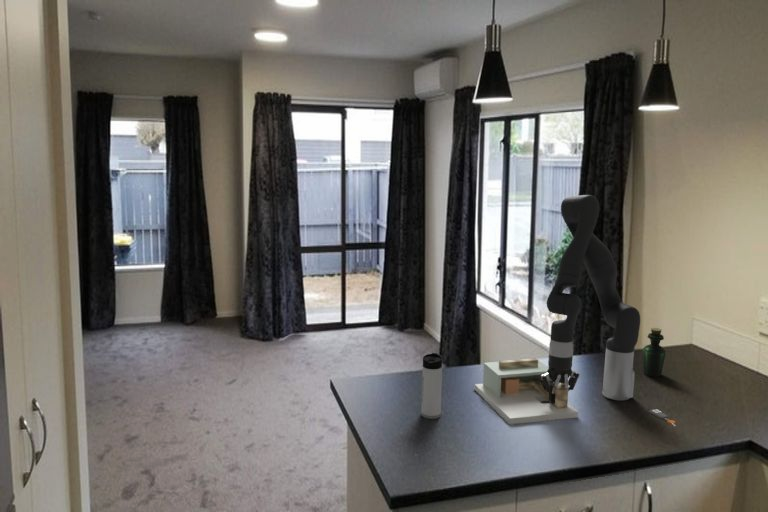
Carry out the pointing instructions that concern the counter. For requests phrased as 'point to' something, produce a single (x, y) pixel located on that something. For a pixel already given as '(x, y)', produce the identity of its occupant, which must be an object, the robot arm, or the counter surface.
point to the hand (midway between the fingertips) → (557, 402)
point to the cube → (510, 385)
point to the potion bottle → (654, 354)
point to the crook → (560, 397)
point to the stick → (518, 363)
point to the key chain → (661, 415)
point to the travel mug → (431, 386)
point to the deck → (520, 395)
